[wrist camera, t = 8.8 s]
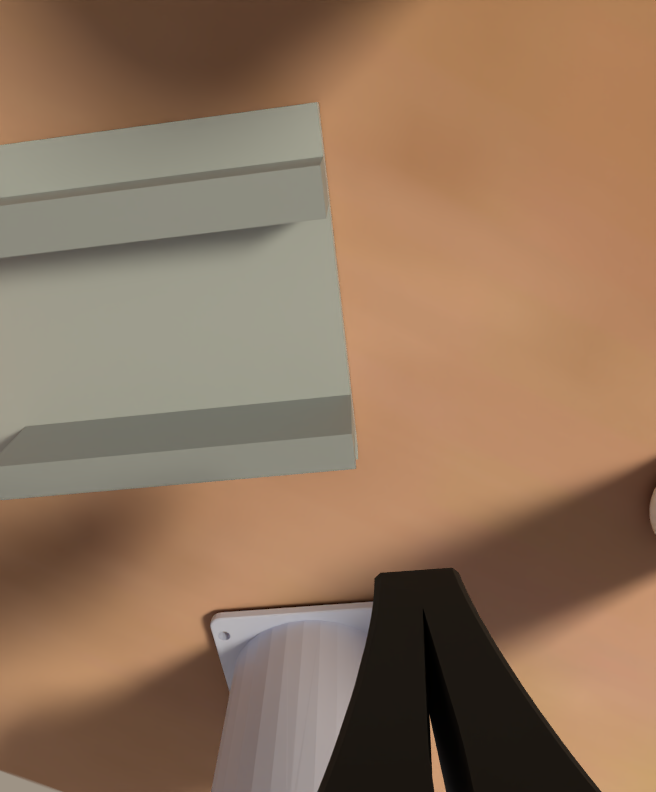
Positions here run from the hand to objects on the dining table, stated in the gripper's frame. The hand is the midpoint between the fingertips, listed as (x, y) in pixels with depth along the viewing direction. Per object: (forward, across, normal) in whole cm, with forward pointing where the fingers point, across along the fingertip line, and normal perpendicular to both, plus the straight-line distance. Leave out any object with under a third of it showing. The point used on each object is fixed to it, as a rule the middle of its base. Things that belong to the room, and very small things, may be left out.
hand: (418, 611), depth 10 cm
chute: (+10, +12, -2) cm, 16 cm away
